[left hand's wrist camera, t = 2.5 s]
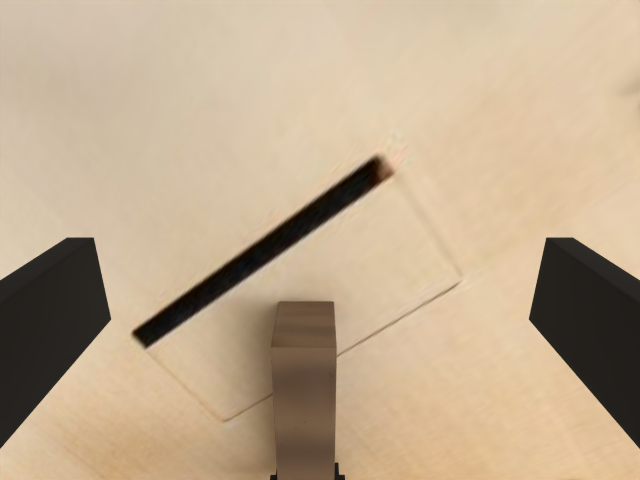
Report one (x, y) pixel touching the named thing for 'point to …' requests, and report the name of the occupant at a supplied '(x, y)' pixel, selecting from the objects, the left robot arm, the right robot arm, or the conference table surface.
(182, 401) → the conference table surface
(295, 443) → the bar
